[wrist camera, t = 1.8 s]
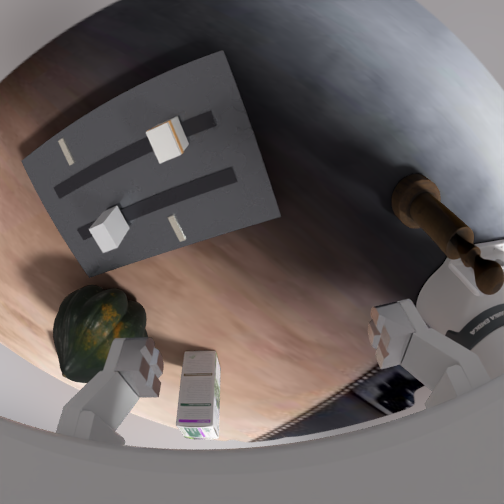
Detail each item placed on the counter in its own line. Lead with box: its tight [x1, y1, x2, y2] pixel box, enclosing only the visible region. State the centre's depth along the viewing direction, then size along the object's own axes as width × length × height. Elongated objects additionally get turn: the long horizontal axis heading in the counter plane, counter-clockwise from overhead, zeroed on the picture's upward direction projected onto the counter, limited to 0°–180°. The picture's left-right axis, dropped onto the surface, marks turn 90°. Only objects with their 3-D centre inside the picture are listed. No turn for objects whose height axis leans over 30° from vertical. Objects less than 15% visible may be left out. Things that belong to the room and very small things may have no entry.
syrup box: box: [176, 351, 221, 439], centre depth 44 cm, size 6×6×14 cm
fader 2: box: [146, 116, 189, 164], centre depth 24 cm, size 2×3×4 cm
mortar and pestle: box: [392, 174, 504, 295], centre depth 26 cm, size 7×6×18 cm
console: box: [22, 50, 281, 278], centre depth 30 cm, size 26×18×3 cm
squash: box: [53, 285, 148, 383], centre depth 37 cm, size 14×15×15 cm
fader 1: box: [89, 206, 129, 253], centre depth 29 cm, size 2×3×4 cm, turn 18°
